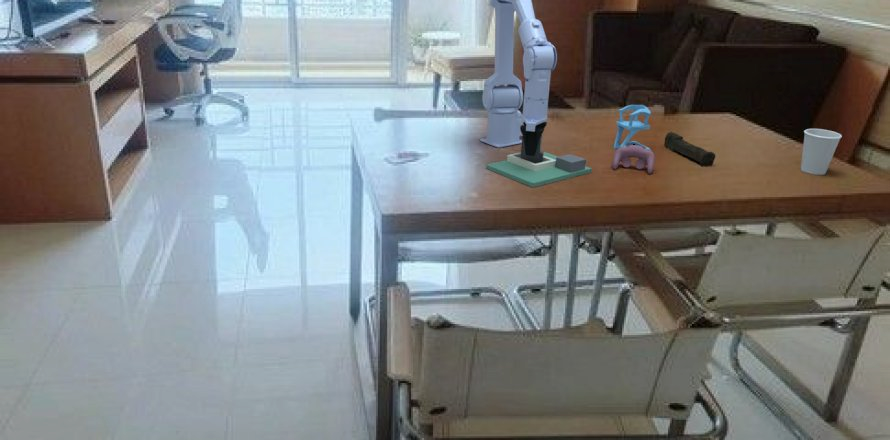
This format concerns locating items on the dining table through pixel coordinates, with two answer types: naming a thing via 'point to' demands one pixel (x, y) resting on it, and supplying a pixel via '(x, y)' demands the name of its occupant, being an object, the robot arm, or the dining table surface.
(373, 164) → the dining table surface
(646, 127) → the chair
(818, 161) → the dixie cup
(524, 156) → the dark grey upright block
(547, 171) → the circuit board
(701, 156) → the hand tool
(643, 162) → the video game controller
